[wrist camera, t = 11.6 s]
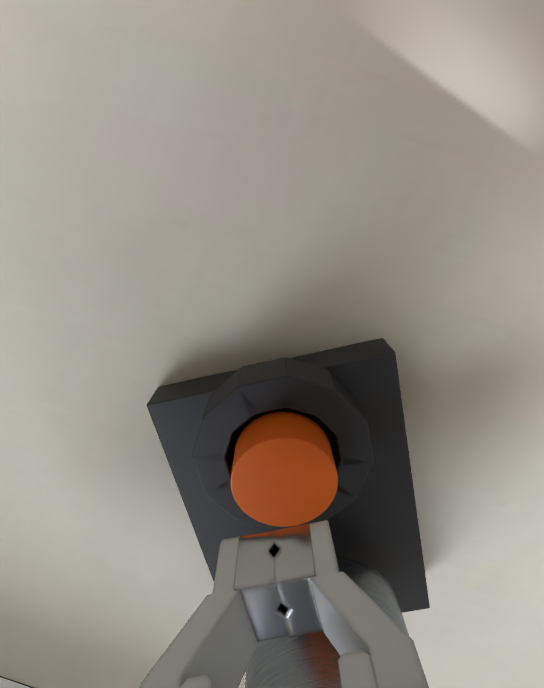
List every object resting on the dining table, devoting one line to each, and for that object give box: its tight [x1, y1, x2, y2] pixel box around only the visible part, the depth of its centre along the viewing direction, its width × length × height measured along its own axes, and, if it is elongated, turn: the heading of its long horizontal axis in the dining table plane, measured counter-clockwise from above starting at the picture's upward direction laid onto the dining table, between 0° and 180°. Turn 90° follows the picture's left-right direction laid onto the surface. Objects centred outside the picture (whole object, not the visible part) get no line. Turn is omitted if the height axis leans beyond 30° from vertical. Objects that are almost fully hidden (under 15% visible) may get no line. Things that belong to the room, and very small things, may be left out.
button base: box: [147, 338, 429, 613], centre depth 17 cm, size 15×10×4 cm
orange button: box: [230, 412, 338, 527], centre depth 14 cm, size 4×4×2 cm
